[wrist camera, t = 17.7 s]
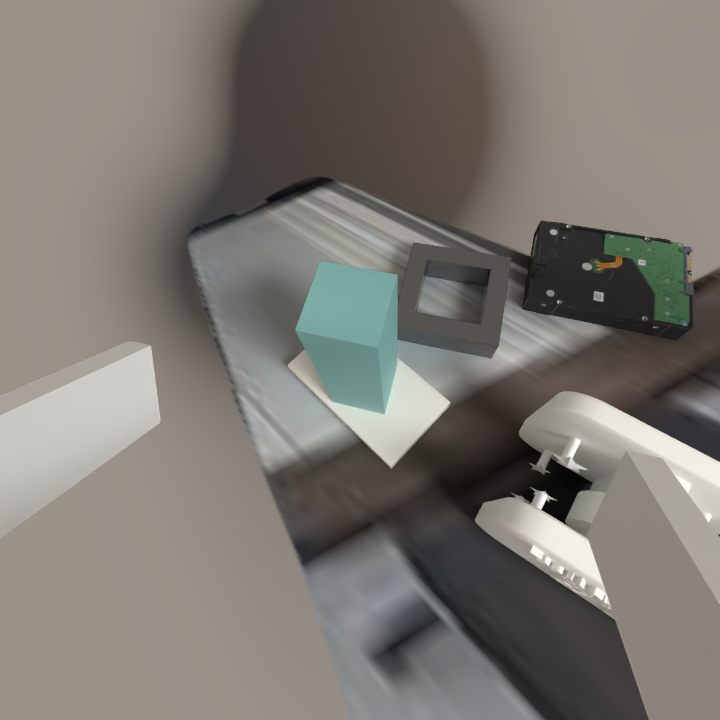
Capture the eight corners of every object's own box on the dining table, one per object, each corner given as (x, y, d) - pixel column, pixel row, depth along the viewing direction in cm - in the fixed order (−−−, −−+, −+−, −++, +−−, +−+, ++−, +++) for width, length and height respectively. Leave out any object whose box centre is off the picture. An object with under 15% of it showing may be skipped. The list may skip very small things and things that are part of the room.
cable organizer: (692, 521, 32) (842, 521, 21) (645, 648, 29) (792, 723, 18) (519, 422, 36) (571, 380, 25) (464, 525, 33) (496, 527, 22)
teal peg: (397, 365, 37) (397, 274, 24) (384, 414, 36) (377, 347, 22) (347, 354, 38) (320, 260, 25) (333, 402, 37) (295, 330, 23)
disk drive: (519, 314, 41) (677, 343, 38) (527, 300, 38) (697, 329, 35) (531, 236, 44) (676, 257, 42) (539, 218, 42) (694, 239, 39)
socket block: (503, 274, 42) (511, 257, 39) (491, 358, 39) (498, 345, 36) (412, 260, 44) (413, 242, 41) (392, 338, 40) (392, 325, 38)
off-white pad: (448, 406, 37) (450, 402, 36) (390, 469, 35) (390, 466, 34) (346, 319, 42) (344, 312, 40) (290, 370, 40) (286, 365, 38)
